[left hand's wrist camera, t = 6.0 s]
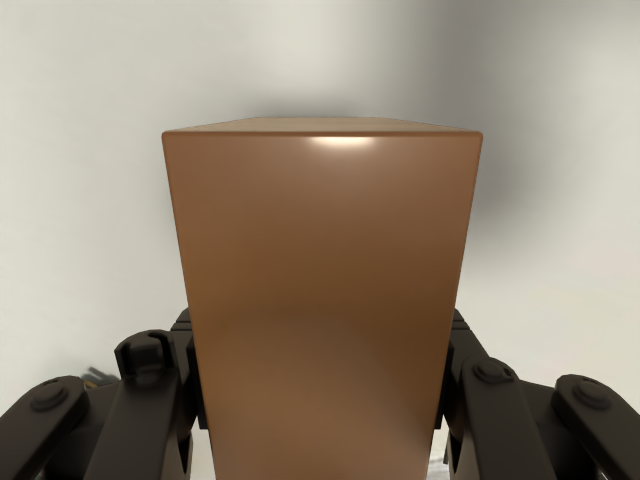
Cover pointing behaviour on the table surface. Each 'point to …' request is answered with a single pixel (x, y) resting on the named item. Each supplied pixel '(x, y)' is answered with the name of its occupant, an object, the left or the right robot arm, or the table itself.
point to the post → (321, 288)
